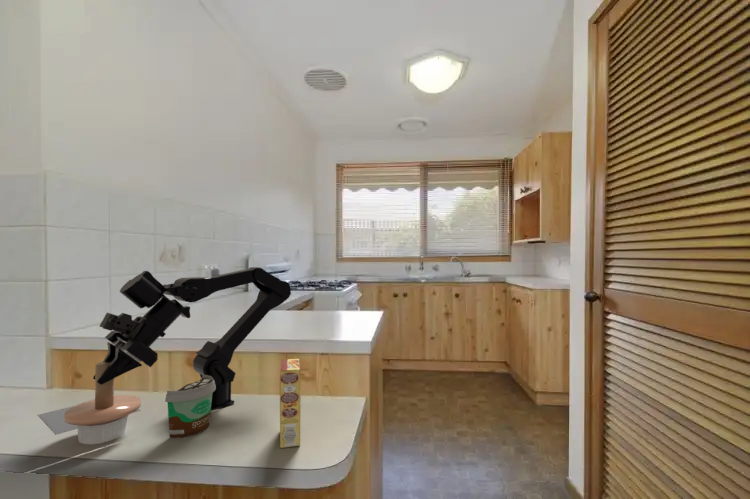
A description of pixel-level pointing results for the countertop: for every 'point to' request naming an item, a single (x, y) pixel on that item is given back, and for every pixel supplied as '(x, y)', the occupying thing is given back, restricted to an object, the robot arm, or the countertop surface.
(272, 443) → the countertop surface
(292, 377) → the candy box
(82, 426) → the ramekin
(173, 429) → the food container
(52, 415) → the mat
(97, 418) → the lid
